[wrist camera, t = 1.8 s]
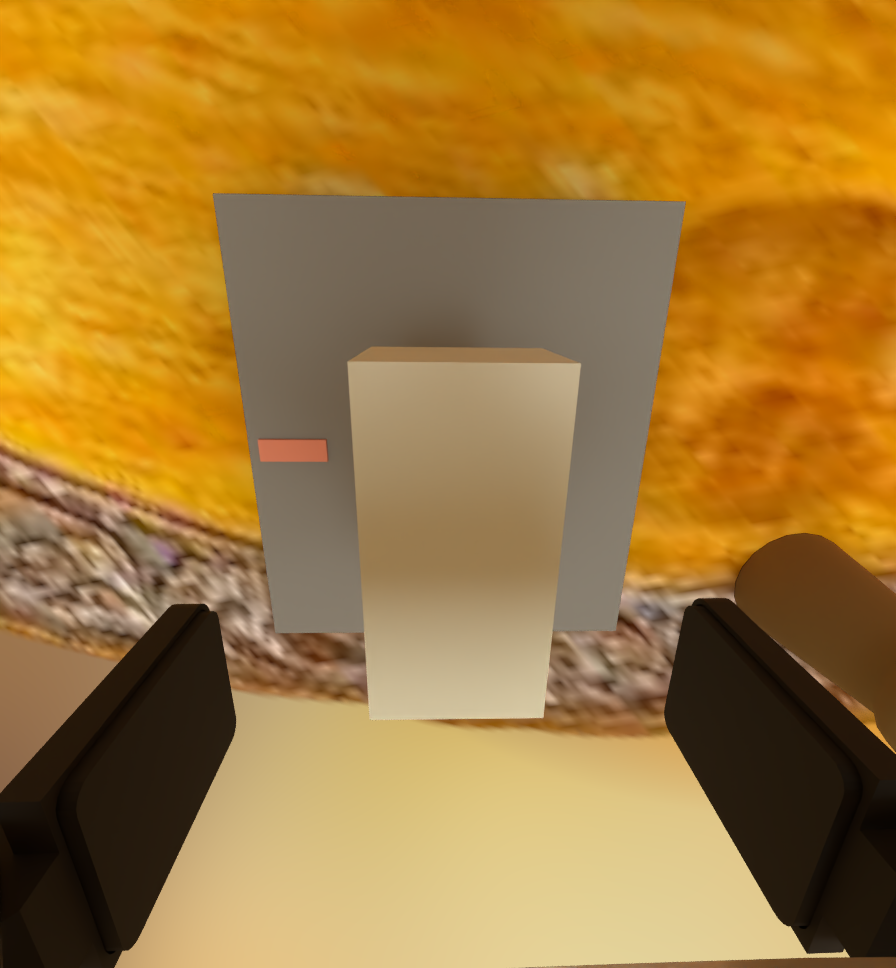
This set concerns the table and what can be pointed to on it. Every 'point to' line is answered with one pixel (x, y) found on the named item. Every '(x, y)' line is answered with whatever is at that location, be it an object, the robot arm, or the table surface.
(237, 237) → the base plate
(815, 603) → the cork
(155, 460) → the table surface
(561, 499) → the cream rectangular block
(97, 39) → the table surface
